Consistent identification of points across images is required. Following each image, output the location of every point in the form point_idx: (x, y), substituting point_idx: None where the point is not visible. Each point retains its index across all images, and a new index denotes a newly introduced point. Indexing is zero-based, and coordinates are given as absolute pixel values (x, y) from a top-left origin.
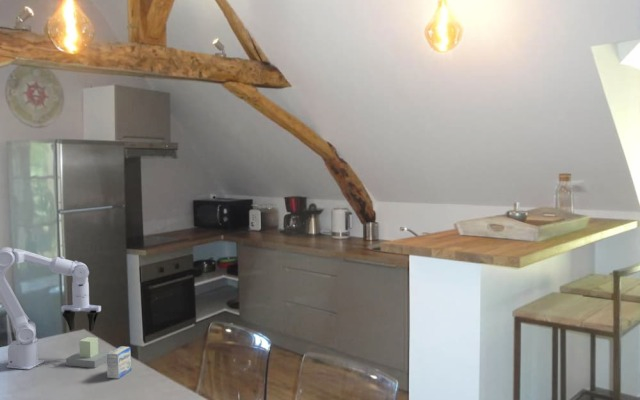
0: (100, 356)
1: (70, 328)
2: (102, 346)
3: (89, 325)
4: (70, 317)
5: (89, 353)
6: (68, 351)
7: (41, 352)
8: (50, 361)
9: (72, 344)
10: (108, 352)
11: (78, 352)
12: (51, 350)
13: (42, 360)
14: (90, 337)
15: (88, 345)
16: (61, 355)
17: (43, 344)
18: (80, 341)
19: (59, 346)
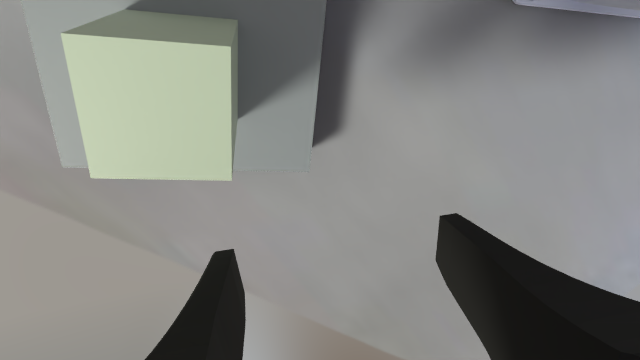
0: (59, 53)
1: (459, 224)
2: (289, 286)
3: (216, 290)
4: (542, 341)
5: (122, 14)
6: (437, 193)
7: (581, 153)
8: (473, 22)
9: None
10: (73, 149)
11: (312, 110)
12: (536, 188)
13: (528, 1)
14: (186, 174)
15: (105, 27)
16: (449, 132)
17: (603, 247)
18: (215, 44)
19: (516, 242)
